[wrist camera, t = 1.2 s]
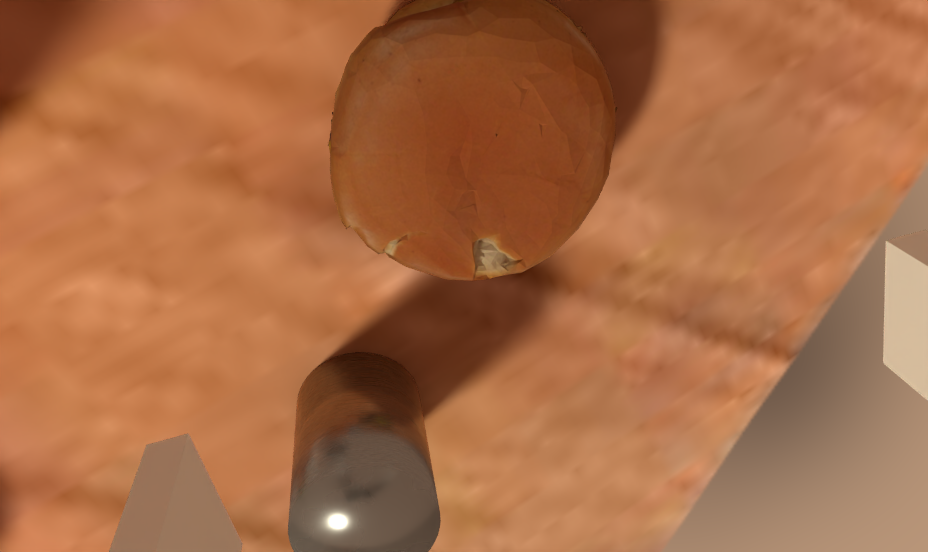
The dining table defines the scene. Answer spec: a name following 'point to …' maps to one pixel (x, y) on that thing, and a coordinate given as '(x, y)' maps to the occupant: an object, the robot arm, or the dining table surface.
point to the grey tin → (361, 461)
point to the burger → (471, 136)
